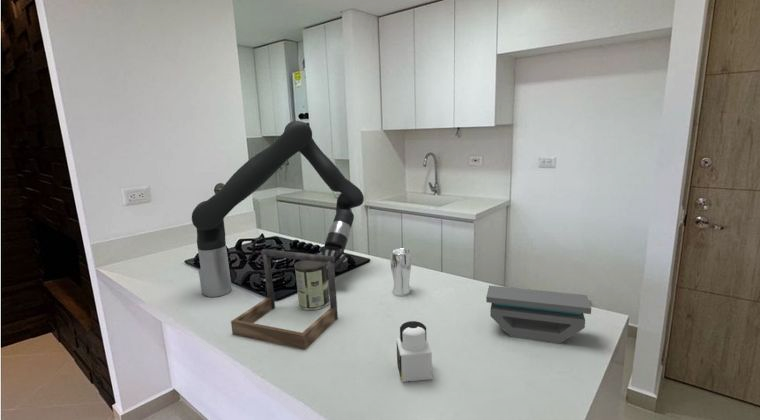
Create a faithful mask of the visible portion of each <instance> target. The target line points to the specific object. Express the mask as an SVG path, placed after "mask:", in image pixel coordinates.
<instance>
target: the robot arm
mask: <svg viewBox="0 0 760 420" xmlns="http://www.w3.org/2000/svg"><path fill="white" fill-rule="evenodd" d="M297 153H300V154H301V155H302V156H303V157H304V158H305V159H306V160H307V161H308V163H310V165H311V166H312V167H313V169H314V170H315V171H316V173H317V174H318V176H319V177H320V178H321V180H323V182H324V183H325V184H326V186H327V187H328V188H329V189H330V190H331V191H332V192H336V193H340V194H339V195H338V196H337V199H336V207H335V215H334V219H333V221H332V224H331V225H330V228H329V230H328V233H327V237H326V239H325V241H324V247H323V248H322V249H321V251H320V252H315V253H314V254H316V255H325V256H334V257H335V262H334V271H335V272H336V271H338V270H339V269H340V268H341V267H342V266H343V265H345V264H346V263H347V262H348V261H349V259H348V257H346V256H345V250H346V246H347V244H348V241H349V237H350V233H351V230H352V226H353V222H354V219H355V215H354V213H353V212H352V211H351V209H354V208H357V207H360V206H361V205H363V203H364V201H365V199H364V197H365V196H364V194H363V193H362V191H361V189H360V188H359V187H358V186H357V185H355V184H354V183H353V182H351V180H349V179H347V178H346V177H345V176H344V175H343V173H342V172H341V171H340V169H339V168H338V167H337V166H336V164H334V162H333V161H332V160H331V159H330V158H329V157H328V156H327V155H326V154H325V153H324V152H323V151H322V150H321V149H320V146H318V144H317V142H315V140H314V138H313V131H312V129H311V126H310V125H309V124H308V123H306V122H304V121H300V120H293V121H290V122H288V123H287V124H286V126H285V127H284V131H283V133H282V134H280V136H279V137H278V138H277V139H276V140H275V141H274V142H273V143H271V145H269V146H268V147H266V148H265V149H263V150H262V151H260V152H258V153H257V154H255V155H254V156H252V157H251V158H250V159H248V160H247V161H246V162H245V163H244V164H243V165H241V166H240V167H239V168H238V169H237V170H236V171H235V172H234V173H233V174H232V176H231V177H230V178H229V179H228V180H227V181H226V182H225V184H224V185H223V186H222V187H221V188H220V190H218V191H217V192H216V193H215V194H213V196H210V198H208V199H207V200H204V201H201V202H199V203H198V204H197V205H196V206H195V207H194V209H193V210H192V213H191V221H192V225H193V226H194V227H195V228H196V246H197V252H198V259H199V265H200V268H198V276H199V277H198V278H199V284H200V288H201V289H200V290H201V295H204V296H205V297H208V298H216V297H222V296H224V295H227V294H229V293H231V292H232V290H233V289H232V280H231V273H230V266H229V258H228V257H229V256H228V250H227V244H226V228H225V227H226V226H225V221H224V220H225V217H227V215H229V213H230V212H232V210H233V209H234V208H235V207H236V206H237V205H239V204H240V203H241V202H243V201H244V200H246V199H247V198H248V197H250V196H251V195H252V194H253V193H254V192H256V191H257V190H258V189H259V188H260V187H262V186H263V185H264V184H265V183H266V182H267V181H268V180H269V179H270V178H271V177H272V176H273V175H275V173H276V172H278V170H279V169H280V168H281V167H282V166H283V164H285V163H286V162H287V161H288V160H289V159H290V158H292V157H293V156H294V155H296V154H297ZM326 267H327V265H326ZM327 280H328V269H327Z"/></svg>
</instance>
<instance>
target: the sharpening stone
mask: <svg viewBox="0 0 760 420" xmlns="http://www.w3.org/2000/svg"><path fill="white" fill-rule="evenodd" d="M486 292H487V293H486V300H485V301H486V303H491V304H490V309H489V310H490V318H492V319H493V320H494V321H495V322H496V323H497V325H499V327H500V328H501V329H503V330H504V332H505V333H506V334H508V335H509V336H510V338H515V339H521V340H526V341H527V340H528V341H535V342H541V343H542V342H543V343H549V344H550V343H551V344H556V345H559V344H561V343H563V342H564V341H566V340H568V339H569V338H571V337H572V336H574V335H576V334H578V333H579V332H581V331H582V330H584V329H585V327H586V317H585V314H586V315H591V314H592V306H591V303H590V301H589V298H588V297H589V296H588V295H587V294H582V293H581V294H580V293H579V294H578V293H570V292H569V293H568V292H560V291H559V292H558V291H549V290H540V289H530V288H528V289H527V288H519V287H508V286H499V285H488V288H487V291H486Z"/></svg>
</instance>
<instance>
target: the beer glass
mask: <svg viewBox="0 0 760 420" xmlns="http://www.w3.org/2000/svg"><path fill="white" fill-rule="evenodd" d="M411 257H412V256H411V250H410V249H408V248H405V247H404V248H403V247H401V248H400V247H397V248H393V249H391V250H390V270H391V275H392V279H393V287H392V294H393V295H395V296H398V297H406V296H409V295H410V294H411V287H410V276H411V270H412V258H411Z"/></svg>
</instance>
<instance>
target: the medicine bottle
mask: <svg viewBox="0 0 760 420" xmlns="http://www.w3.org/2000/svg"><path fill="white" fill-rule="evenodd" d="M399 333H400V334H399V337H397V338H396V364H397V367H398V368H397V369H398V373H399V378H400V382H401V381H402V382H401V383H408V381H410V382H420V380H421V381H431V380H433V367H432V366H433V361H432V360H433V359H432V358H433V356H432V355H433V354H432V353H433V352H432V350H431V347H430V345H429V342H428V339H427V326H426V325H425V324H424V323H422V322H420V321H416V320H415V321H414V320H413V321H412V320H411V321H409V320H408V321H406V322H403V323H402V324H401V325H400V326H399ZM406 381H407V382H406Z"/></svg>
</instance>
